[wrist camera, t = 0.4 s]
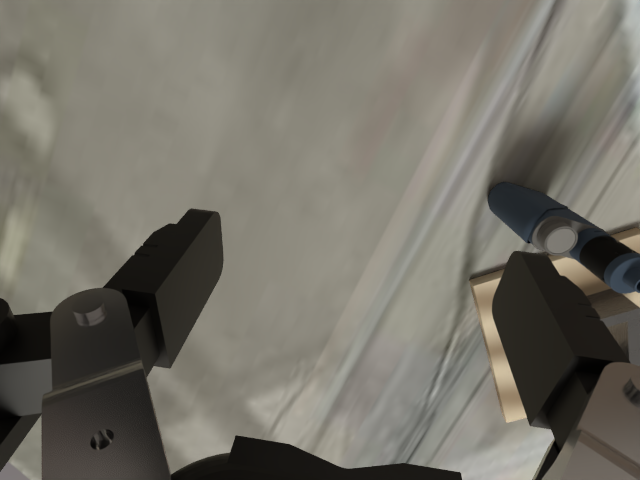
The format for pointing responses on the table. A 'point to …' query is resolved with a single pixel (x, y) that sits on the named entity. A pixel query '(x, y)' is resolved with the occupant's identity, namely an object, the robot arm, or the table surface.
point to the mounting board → (498, 361)
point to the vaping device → (566, 235)
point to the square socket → (620, 320)
